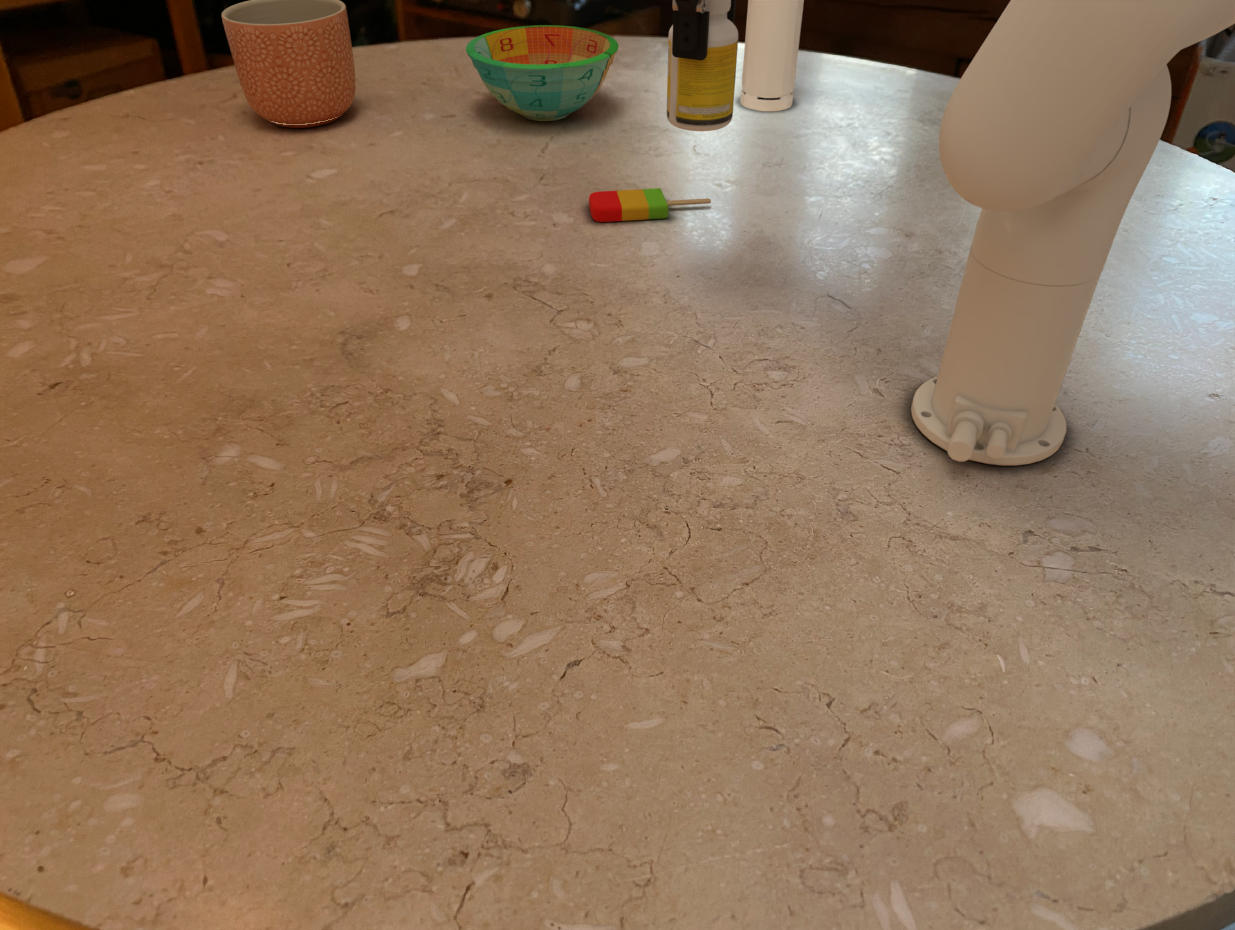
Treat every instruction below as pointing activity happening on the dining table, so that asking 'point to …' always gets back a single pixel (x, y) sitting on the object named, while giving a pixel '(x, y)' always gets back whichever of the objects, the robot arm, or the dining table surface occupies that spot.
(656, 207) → the popsicle
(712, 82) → the pill bottle
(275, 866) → the dining table surface
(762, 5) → the bottle
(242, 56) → the planter
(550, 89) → the bowl
